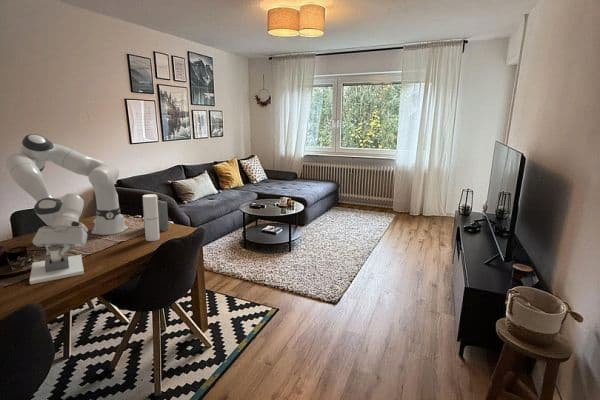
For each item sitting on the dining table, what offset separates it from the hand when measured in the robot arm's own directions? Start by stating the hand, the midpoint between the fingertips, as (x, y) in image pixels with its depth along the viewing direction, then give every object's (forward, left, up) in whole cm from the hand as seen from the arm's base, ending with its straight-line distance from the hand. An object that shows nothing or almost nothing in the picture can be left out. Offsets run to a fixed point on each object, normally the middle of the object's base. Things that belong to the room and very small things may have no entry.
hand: (54, 255), depth 140 cm
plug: (0, 0, -5) cm, 5 cm away
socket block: (0, 0, -7) cm, 7 cm away
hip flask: (-37, +49, -7) cm, 62 cm away
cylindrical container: (-20, +43, -7) cm, 49 cm away
